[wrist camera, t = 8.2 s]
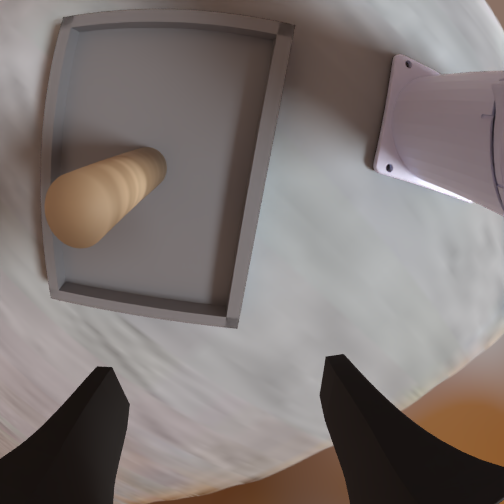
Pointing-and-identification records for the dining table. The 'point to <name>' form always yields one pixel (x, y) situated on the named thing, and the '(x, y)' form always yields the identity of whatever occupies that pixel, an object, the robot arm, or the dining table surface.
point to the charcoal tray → (166, 154)
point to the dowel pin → (101, 195)
